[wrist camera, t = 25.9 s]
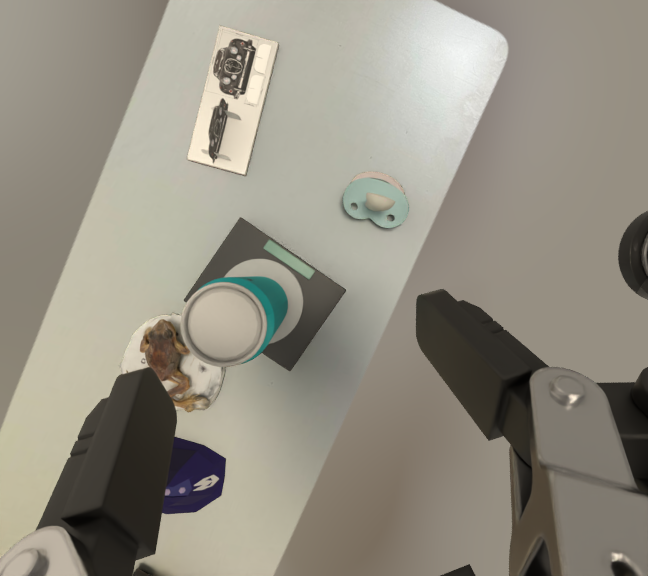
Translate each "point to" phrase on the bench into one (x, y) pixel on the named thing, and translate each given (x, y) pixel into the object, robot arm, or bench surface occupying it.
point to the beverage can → (233, 319)
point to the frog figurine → (173, 363)
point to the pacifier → (376, 199)
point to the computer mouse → (192, 477)
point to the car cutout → (232, 100)
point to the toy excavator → (140, 573)
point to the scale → (290, 273)
